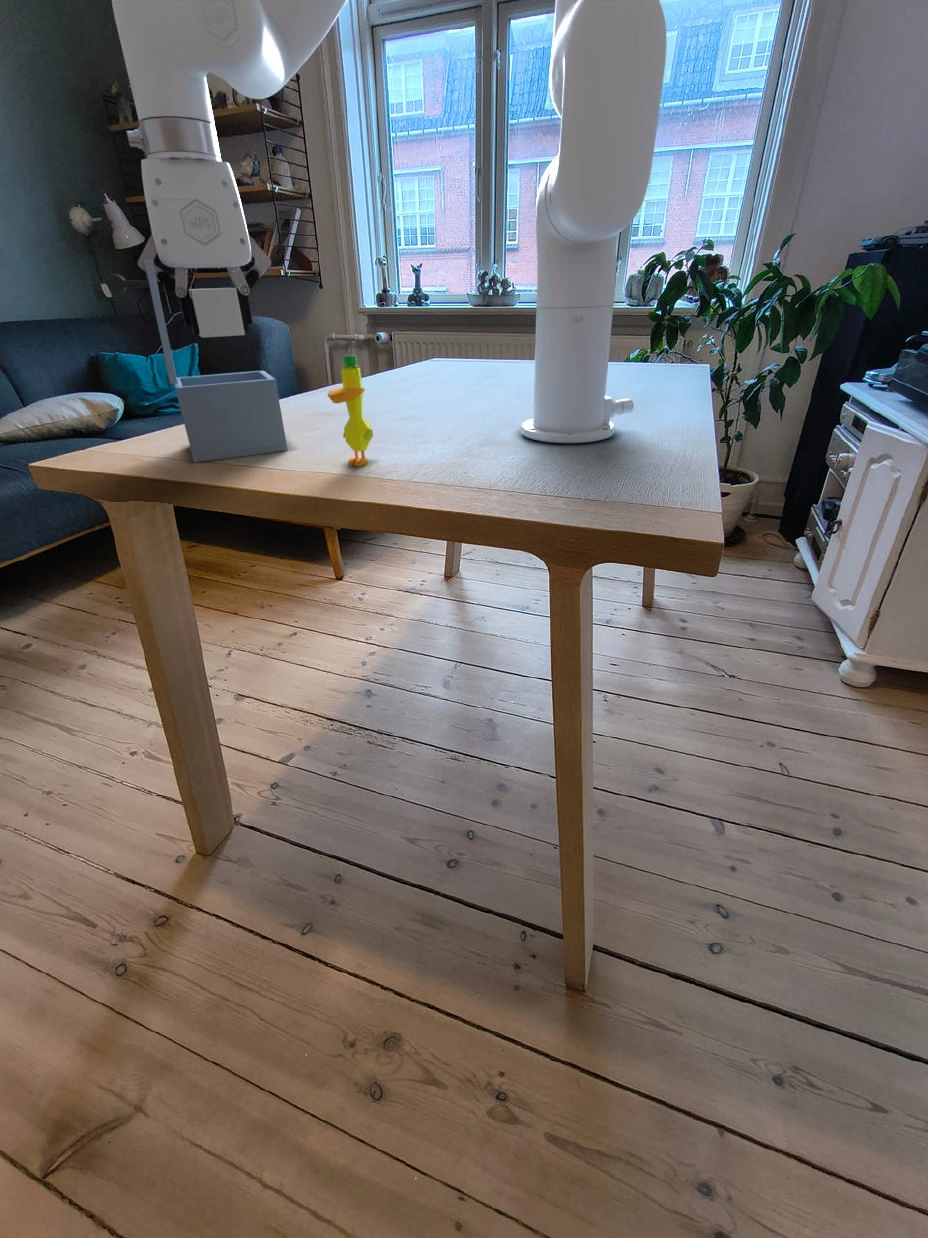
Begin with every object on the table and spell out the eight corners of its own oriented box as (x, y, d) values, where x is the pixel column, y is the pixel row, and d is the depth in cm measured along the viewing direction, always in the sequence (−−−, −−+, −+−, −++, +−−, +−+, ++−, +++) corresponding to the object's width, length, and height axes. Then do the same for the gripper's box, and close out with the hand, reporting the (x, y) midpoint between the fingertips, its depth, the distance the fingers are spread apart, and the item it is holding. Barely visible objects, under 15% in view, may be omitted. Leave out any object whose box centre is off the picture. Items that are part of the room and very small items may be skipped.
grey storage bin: (275, 435, 86) (263, 370, 81) (287, 450, 78) (275, 379, 74) (190, 445, 82) (172, 377, 77) (194, 462, 74) (175, 387, 70)
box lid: (152, 262, 71) (104, 260, 69) (152, 259, 64) (99, 257, 62) (175, 374, 77) (132, 375, 75) (177, 383, 70) (130, 385, 68)
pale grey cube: (240, 332, 76) (231, 287, 74) (245, 334, 72) (236, 287, 70) (198, 334, 74) (188, 289, 72) (201, 337, 71) (190, 289, 68)
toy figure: (352, 473, 68) (338, 360, 62) (327, 469, 70) (311, 359, 64) (385, 458, 73) (375, 352, 67) (361, 455, 75) (350, 352, 69)
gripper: (91, 135, 58) (145, 339, 67) (268, 144, 64) (296, 330, 73) (96, 149, 64) (145, 335, 73) (258, 156, 70) (285, 327, 79)
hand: (220, 331), depth 73 cm, fingers closed on pale grey cube, 5 cm apart
